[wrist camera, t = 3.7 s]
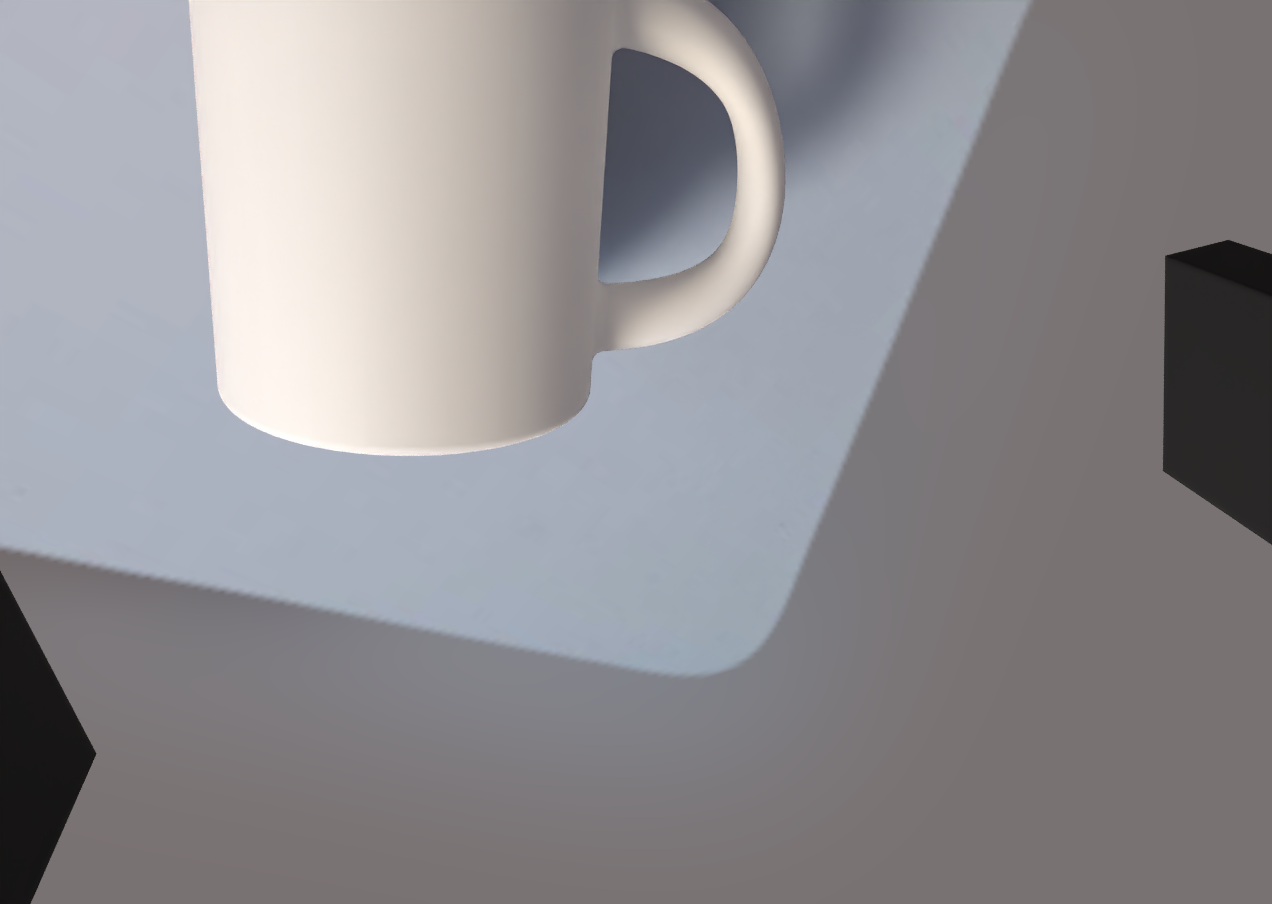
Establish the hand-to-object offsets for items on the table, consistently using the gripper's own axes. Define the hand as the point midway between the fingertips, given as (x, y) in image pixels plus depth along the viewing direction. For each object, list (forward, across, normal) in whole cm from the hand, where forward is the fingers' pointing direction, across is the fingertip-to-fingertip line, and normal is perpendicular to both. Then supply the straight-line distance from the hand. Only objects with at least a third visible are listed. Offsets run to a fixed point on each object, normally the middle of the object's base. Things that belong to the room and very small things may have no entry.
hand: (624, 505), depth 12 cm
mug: (+17, 0, +2) cm, 17 cm away
